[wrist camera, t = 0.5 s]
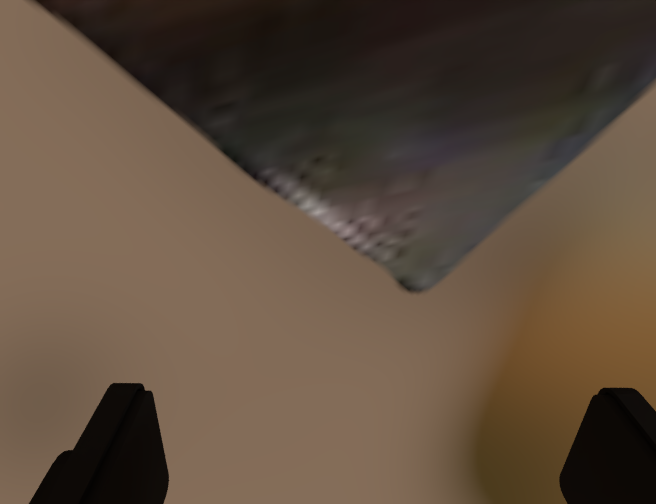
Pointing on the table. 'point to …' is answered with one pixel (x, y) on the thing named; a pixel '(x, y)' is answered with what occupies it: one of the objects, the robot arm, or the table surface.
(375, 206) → the table surface
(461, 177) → the table surface
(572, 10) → the table surface
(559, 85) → the table surface
